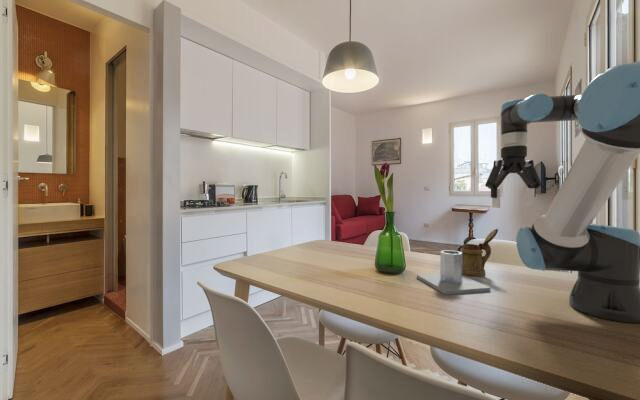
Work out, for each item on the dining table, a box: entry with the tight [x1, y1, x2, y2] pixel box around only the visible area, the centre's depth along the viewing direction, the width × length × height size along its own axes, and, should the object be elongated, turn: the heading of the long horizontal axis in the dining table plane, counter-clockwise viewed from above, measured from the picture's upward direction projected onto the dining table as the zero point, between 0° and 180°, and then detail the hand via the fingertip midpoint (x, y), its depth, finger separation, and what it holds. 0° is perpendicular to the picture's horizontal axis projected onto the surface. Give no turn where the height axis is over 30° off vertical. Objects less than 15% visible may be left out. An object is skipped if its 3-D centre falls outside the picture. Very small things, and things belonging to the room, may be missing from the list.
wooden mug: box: [461, 228, 499, 277], centre depth 111 cm, size 9×14×18 cm, turn 71°
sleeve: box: [439, 249, 463, 284], centre depth 99 cm, size 7×7×10 cm
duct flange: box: [416, 272, 492, 296], centre depth 99 cm, size 18×16×8 cm
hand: (513, 207), depth 99 cm, fingers open, 13 cm apart
